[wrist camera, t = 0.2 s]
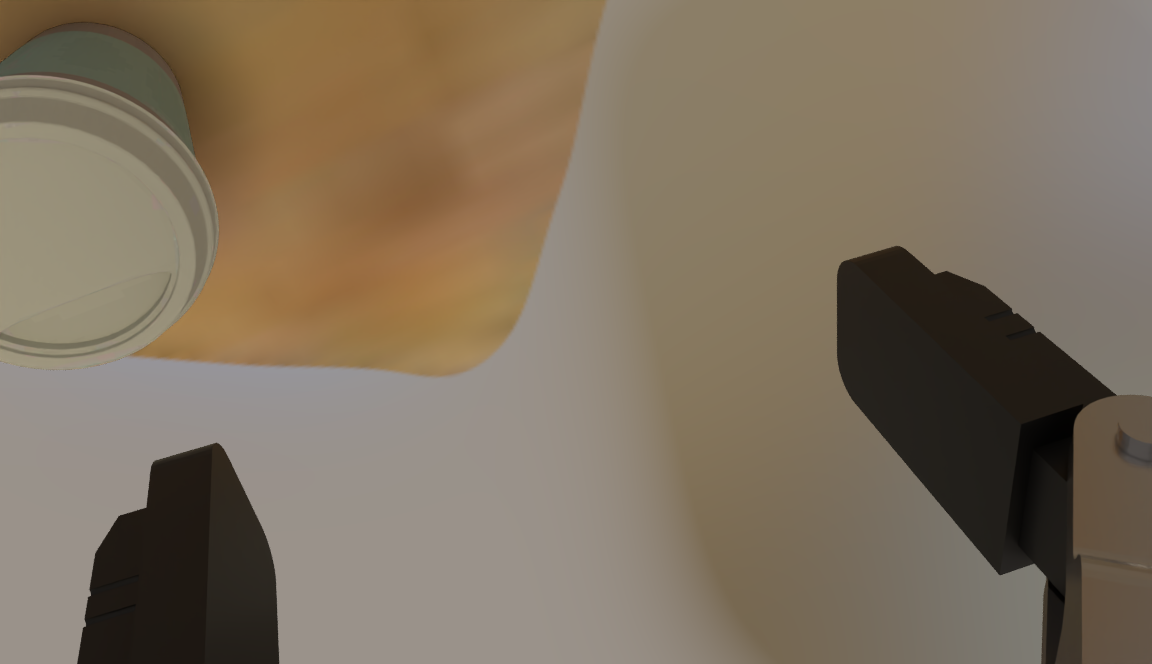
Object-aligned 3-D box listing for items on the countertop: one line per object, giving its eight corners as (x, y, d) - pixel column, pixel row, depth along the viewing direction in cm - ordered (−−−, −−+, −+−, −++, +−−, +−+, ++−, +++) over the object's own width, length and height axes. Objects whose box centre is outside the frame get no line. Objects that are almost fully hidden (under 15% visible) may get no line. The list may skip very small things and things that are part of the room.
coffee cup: (-38, 190, 37) (-137, 373, 27) (-36, -46, 33) (-152, 68, 23) (209, 224, 40) (199, 398, 30) (237, 12, 36) (236, 134, 26)
